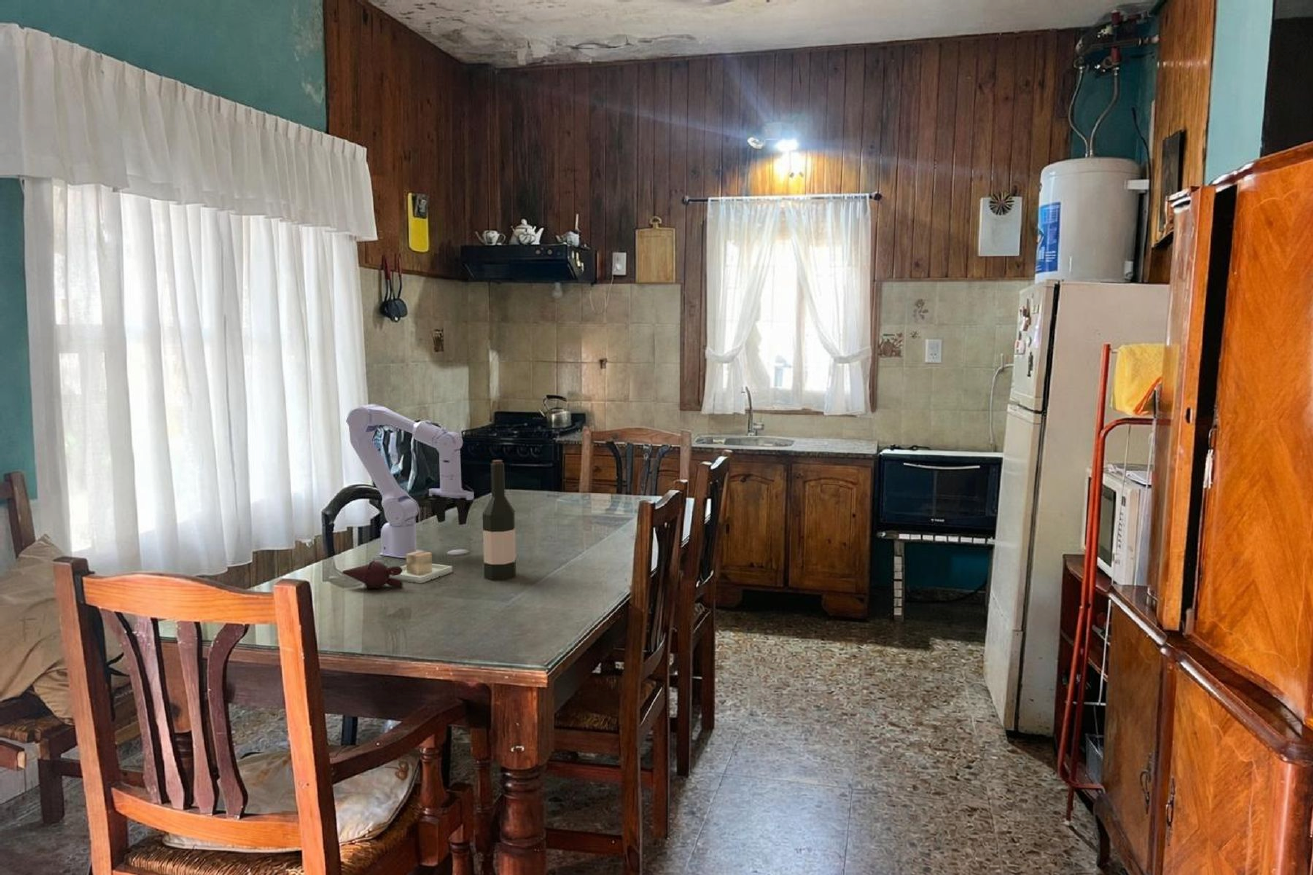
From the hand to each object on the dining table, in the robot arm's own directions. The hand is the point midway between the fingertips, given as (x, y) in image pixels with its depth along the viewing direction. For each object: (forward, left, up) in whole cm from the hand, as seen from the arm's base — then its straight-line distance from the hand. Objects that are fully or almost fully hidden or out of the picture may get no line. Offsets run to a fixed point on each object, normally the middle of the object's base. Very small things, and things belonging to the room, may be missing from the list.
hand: (452, 523), depth 241 cm
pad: (-1, +3, -9) cm, 10 cm away
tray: (+5, -20, -9) cm, 22 cm away
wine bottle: (+25, -12, -10) cm, 29 cm away
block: (+5, -19, -9) cm, 22 cm away
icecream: (+3, -34, -10) cm, 35 cm away
